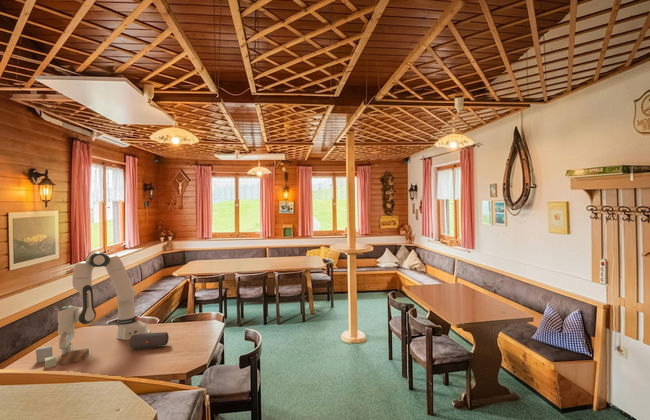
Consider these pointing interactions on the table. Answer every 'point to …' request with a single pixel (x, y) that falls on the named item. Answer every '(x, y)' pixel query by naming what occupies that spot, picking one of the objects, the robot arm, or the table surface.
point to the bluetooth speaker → (149, 340)
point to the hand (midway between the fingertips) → (67, 350)
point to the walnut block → (75, 356)
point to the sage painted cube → (50, 361)
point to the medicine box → (43, 353)
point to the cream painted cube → (69, 347)
